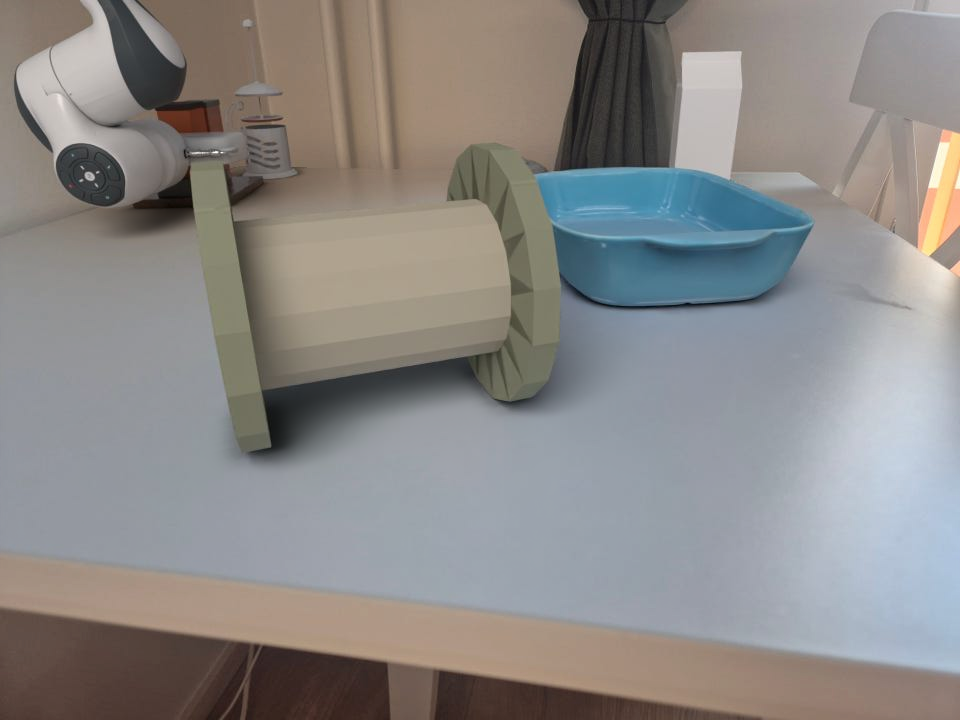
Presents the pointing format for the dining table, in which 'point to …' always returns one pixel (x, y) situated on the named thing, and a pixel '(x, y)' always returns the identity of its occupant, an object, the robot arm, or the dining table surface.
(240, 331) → the spool
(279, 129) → the french press
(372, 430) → the dining table surface
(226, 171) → the pad dock
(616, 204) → the casserole dish
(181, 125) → the loose pad
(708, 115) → the milk carton
